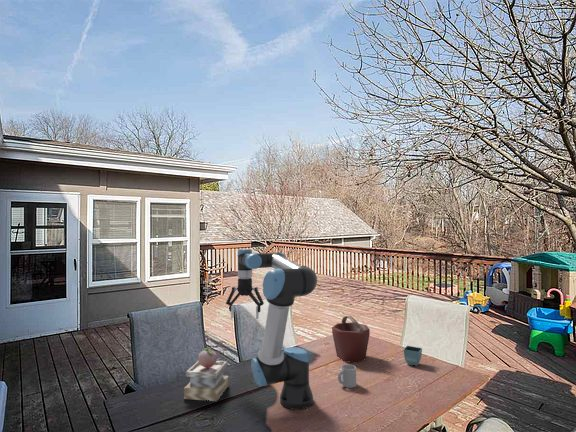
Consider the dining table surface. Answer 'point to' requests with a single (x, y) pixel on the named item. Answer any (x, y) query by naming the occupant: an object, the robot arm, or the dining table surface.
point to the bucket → (351, 340)
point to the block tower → (206, 382)
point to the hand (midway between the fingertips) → (244, 318)
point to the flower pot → (412, 355)
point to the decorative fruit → (207, 358)
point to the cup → (347, 376)
